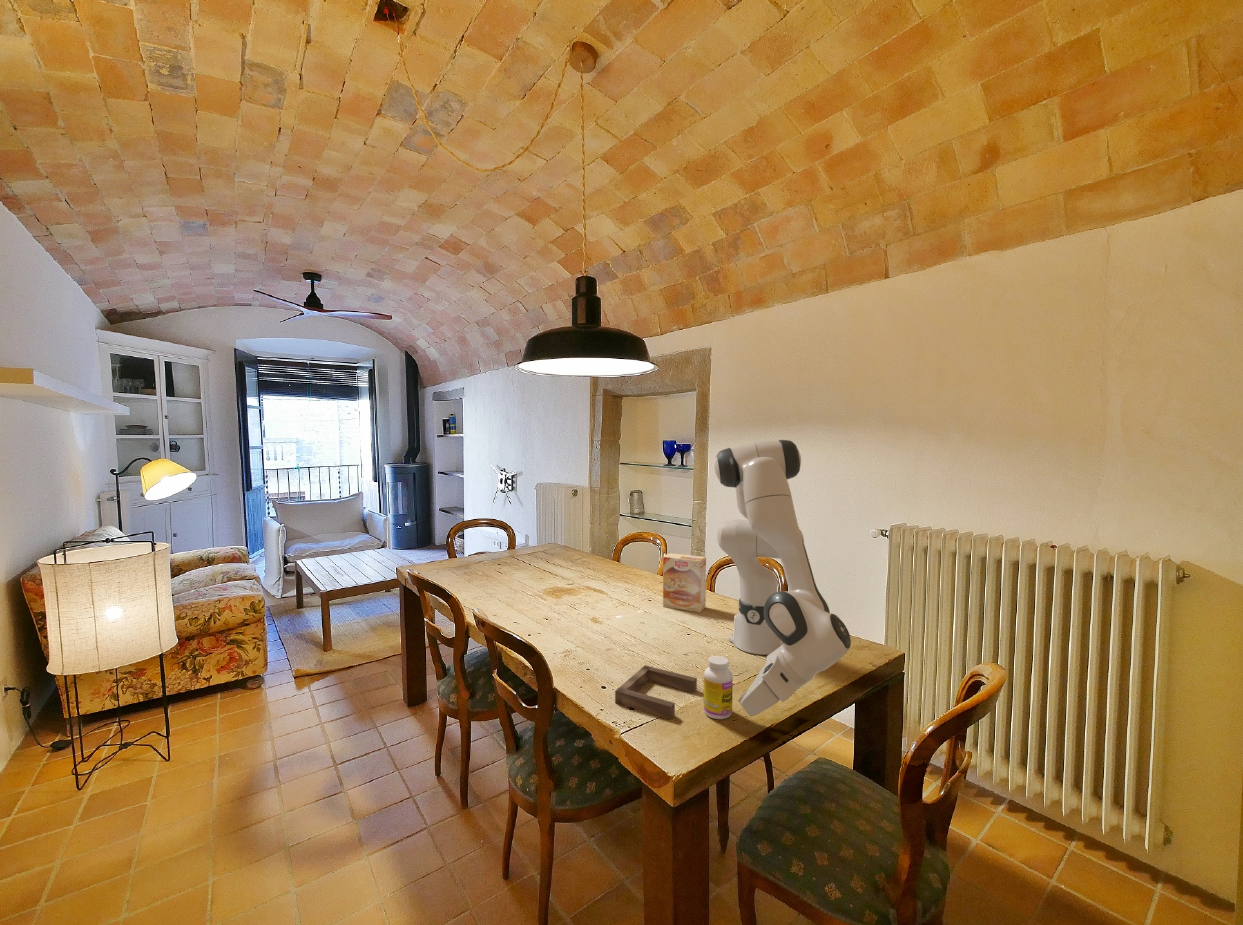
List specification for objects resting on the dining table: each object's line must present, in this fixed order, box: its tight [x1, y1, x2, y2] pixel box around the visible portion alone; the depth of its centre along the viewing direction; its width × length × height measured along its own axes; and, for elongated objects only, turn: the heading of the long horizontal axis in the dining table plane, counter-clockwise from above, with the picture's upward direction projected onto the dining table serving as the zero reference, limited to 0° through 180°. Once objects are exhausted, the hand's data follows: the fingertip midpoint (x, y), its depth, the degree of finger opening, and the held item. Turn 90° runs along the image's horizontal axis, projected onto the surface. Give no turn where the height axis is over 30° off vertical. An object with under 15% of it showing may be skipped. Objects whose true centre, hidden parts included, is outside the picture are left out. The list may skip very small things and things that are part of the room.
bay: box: [614, 664, 698, 720], centre depth 130 cm, size 16×15×3 cm
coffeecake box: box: [662, 552, 707, 613], centre depth 196 cm, size 15×7×20 cm, turn 64°
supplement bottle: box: [703, 655, 734, 720], centre depth 122 cm, size 7×7×13 cm
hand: (742, 701), depth 119 cm, fingers closed
